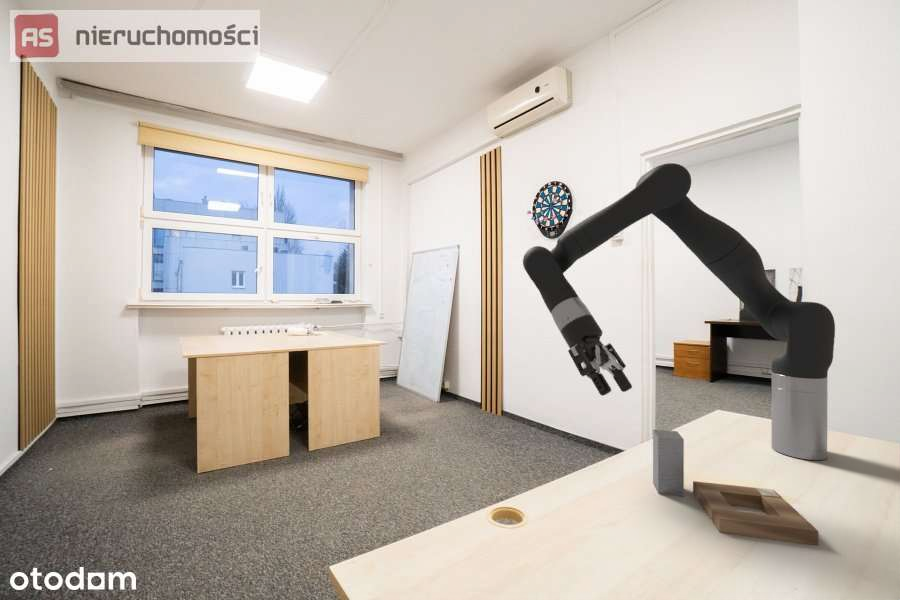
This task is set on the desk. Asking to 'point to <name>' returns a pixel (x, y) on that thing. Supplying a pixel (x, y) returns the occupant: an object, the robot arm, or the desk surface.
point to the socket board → (772, 525)
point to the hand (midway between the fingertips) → (617, 391)
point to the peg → (668, 462)
